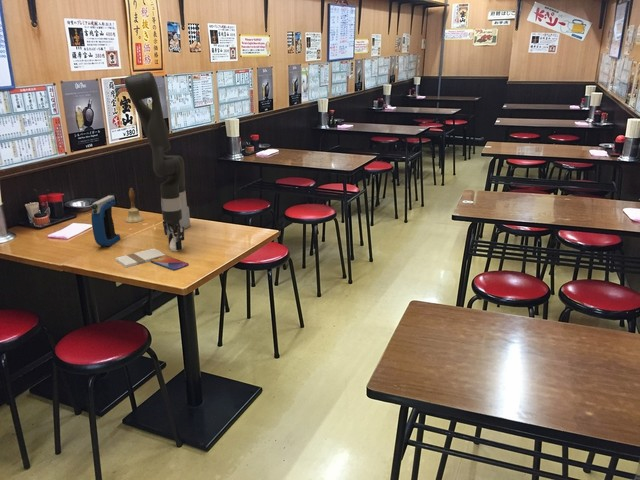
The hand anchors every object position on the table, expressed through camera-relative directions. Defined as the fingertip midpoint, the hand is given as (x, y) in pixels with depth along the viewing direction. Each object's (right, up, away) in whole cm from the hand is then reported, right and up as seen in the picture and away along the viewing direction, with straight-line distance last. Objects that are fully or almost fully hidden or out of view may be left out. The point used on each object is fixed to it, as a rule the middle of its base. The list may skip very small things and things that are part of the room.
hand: (175, 247), depth 211 cm
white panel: (-11, -4, -9) cm, 15 cm away
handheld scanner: (-30, +1, +7) cm, 31 cm away
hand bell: (-31, +12, +39) cm, 51 cm away
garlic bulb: (0, -1, 0) cm, 1 cm away
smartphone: (+2, -6, -14) cm, 16 cm away
